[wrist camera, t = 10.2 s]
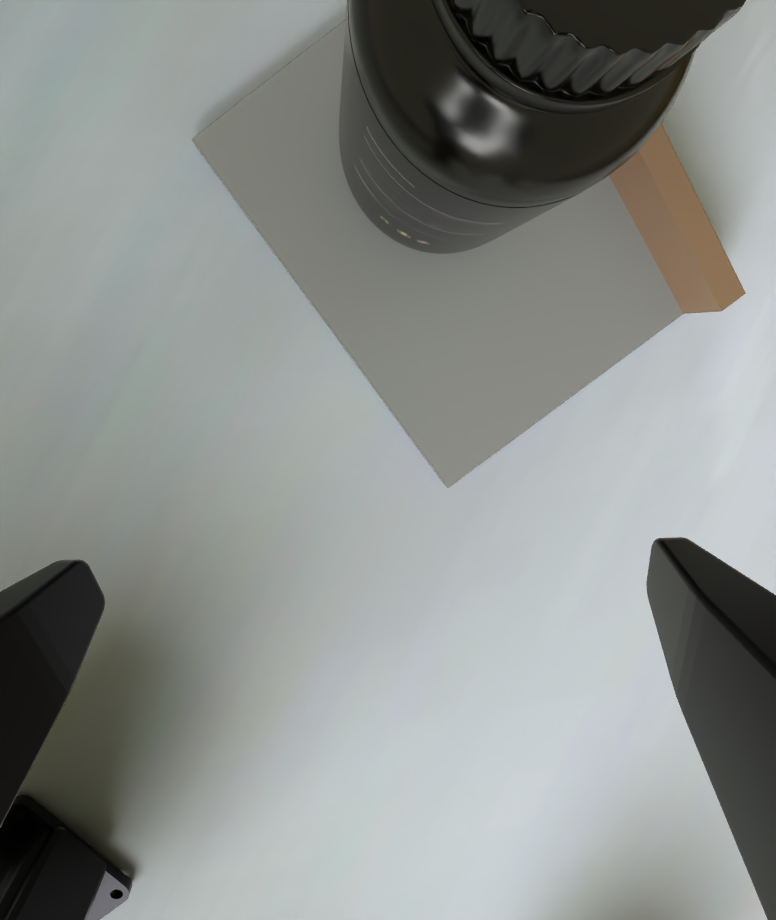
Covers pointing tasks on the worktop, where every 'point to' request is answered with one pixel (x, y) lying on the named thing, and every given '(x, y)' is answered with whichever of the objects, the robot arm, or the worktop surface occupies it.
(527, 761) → the worktop surface
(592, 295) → the shelf board
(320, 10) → the worktop surface
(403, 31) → the supplement bottle
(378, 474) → the worktop surface
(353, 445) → the worktop surface
